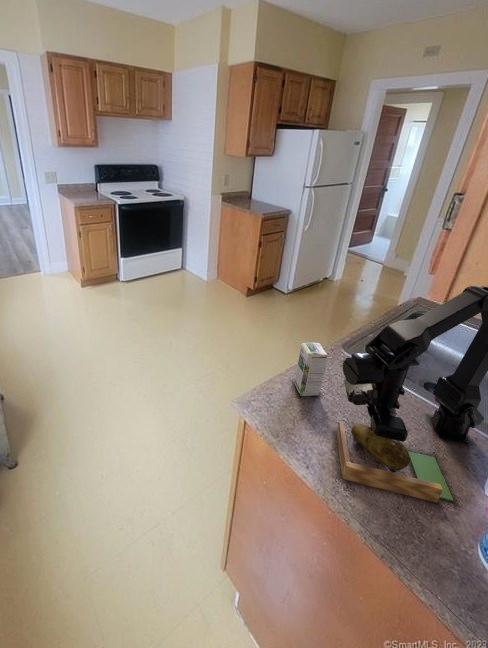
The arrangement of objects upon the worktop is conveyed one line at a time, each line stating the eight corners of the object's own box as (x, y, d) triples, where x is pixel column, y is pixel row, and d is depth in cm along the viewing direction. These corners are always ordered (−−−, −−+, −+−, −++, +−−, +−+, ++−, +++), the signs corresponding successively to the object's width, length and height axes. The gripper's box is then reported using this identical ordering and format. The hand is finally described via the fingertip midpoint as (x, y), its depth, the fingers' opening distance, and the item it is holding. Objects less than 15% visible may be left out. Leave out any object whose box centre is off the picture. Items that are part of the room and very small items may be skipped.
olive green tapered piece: (377, 432, 81) (385, 408, 78) (410, 483, 69) (420, 456, 66) (345, 433, 81) (351, 409, 78) (373, 484, 69) (382, 458, 66)
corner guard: (416, 451, 77) (421, 439, 75) (437, 502, 66) (443, 489, 64) (336, 433, 81) (339, 421, 79) (342, 479, 70) (346, 466, 68)
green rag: (434, 458, 75) (434, 457, 75) (453, 501, 66) (453, 500, 66) (407, 452, 76) (408, 451, 76) (422, 493, 67) (423, 492, 67)
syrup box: (293, 382, 97) (300, 342, 92) (312, 382, 98) (319, 342, 92) (300, 396, 92) (307, 355, 87) (320, 395, 93) (328, 354, 87)
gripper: (345, 347, 83) (334, 393, 89) (357, 400, 66) (342, 453, 72) (393, 355, 80) (378, 402, 86) (417, 413, 64) (397, 466, 70)
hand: (373, 427), depth 79 cm, fingers closed
